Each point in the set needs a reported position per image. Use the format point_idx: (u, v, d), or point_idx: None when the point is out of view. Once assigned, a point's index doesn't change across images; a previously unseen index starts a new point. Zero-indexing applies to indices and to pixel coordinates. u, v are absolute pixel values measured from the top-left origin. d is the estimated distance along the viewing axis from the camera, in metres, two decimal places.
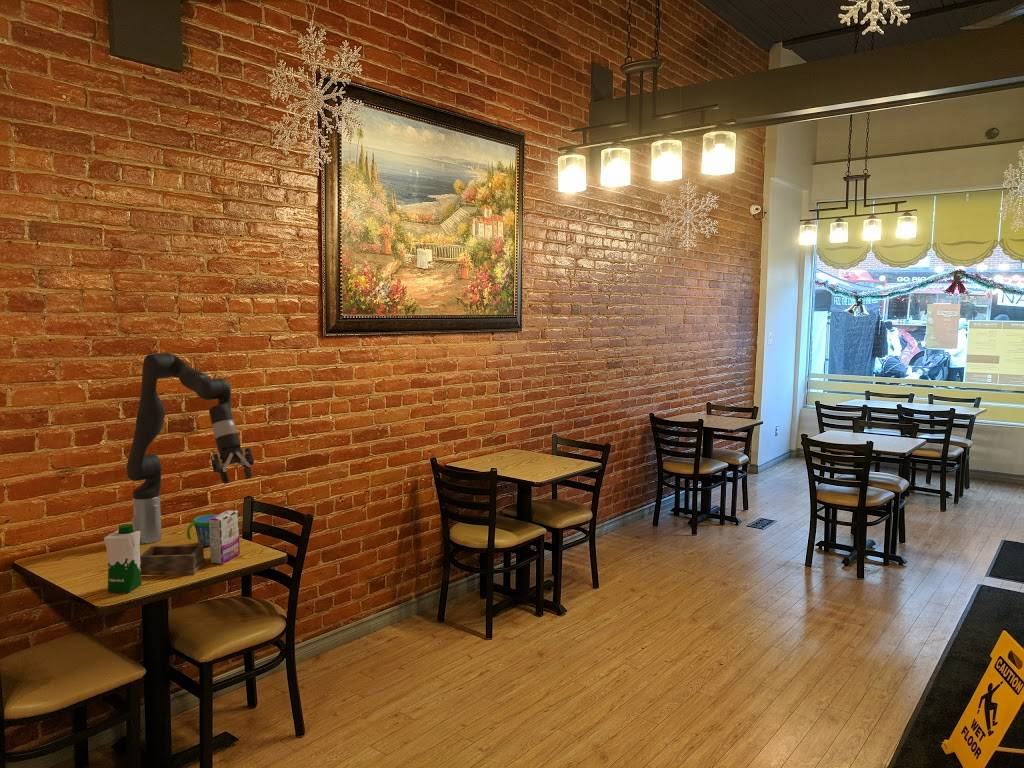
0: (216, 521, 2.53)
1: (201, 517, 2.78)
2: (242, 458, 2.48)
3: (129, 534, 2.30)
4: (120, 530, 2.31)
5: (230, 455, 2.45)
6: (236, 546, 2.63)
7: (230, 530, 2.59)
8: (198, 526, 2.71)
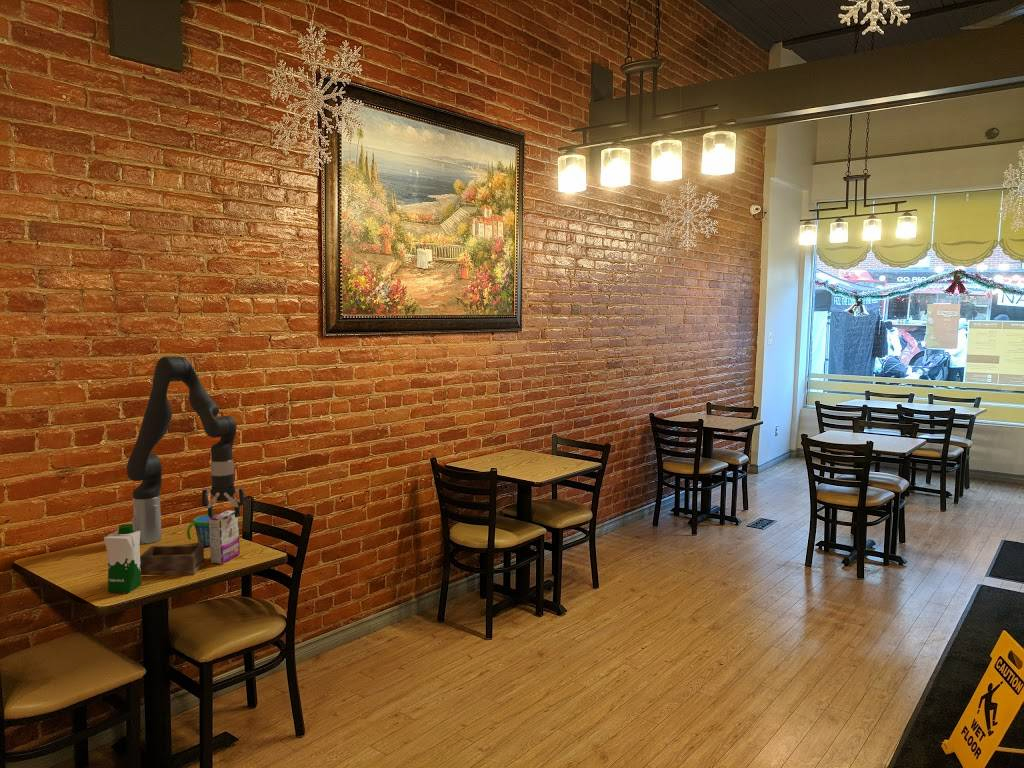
0: (216, 521, 2.53)
1: (201, 517, 2.78)
2: (230, 499, 2.57)
3: (129, 534, 2.30)
4: (120, 530, 2.31)
5: (217, 494, 2.56)
6: (236, 546, 2.63)
7: (230, 530, 2.59)
8: (198, 526, 2.71)
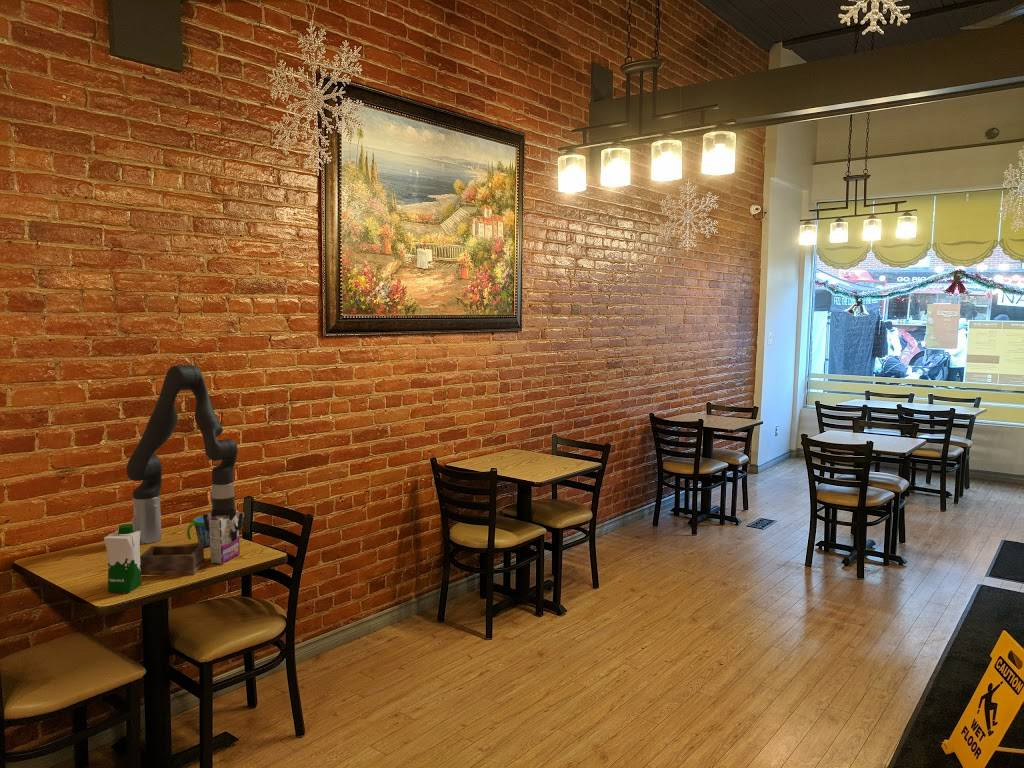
0: (216, 521, 2.53)
1: (201, 517, 2.78)
2: (229, 522, 2.58)
3: (129, 534, 2.30)
4: (120, 530, 2.31)
5: None
6: (236, 546, 2.63)
7: (230, 530, 2.59)
8: (198, 526, 2.71)
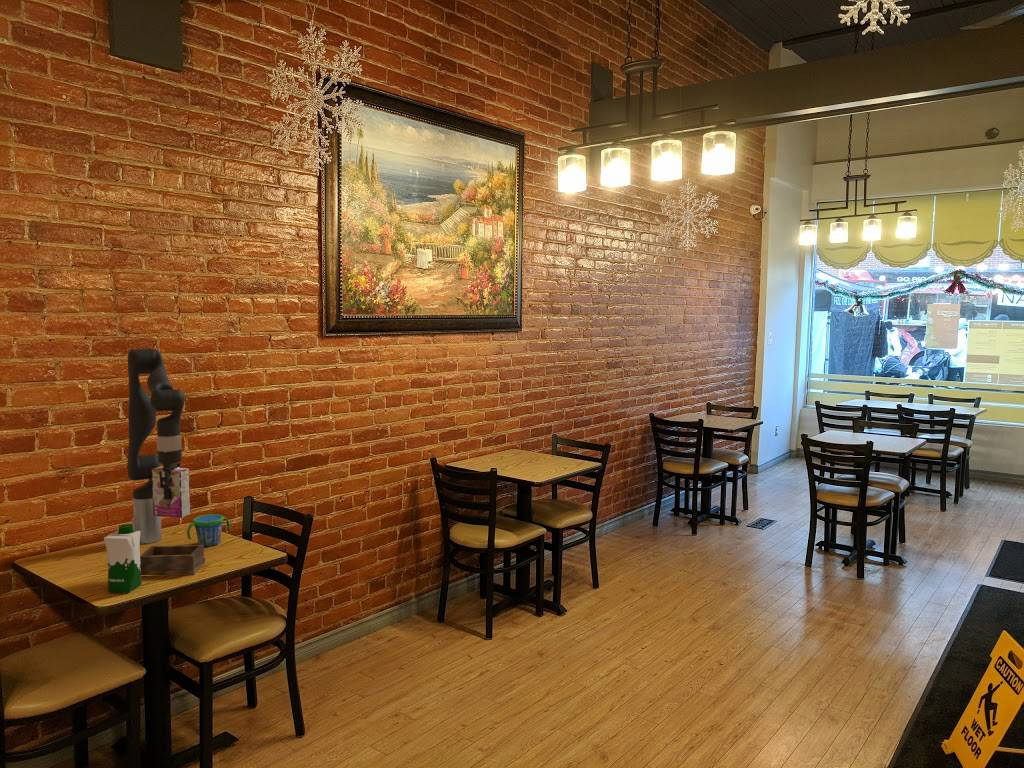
0: (186, 471, 2.46)
1: (201, 517, 2.78)
2: None
3: (129, 534, 2.30)
4: (120, 530, 2.31)
5: None
6: None
7: None
8: (198, 526, 2.71)
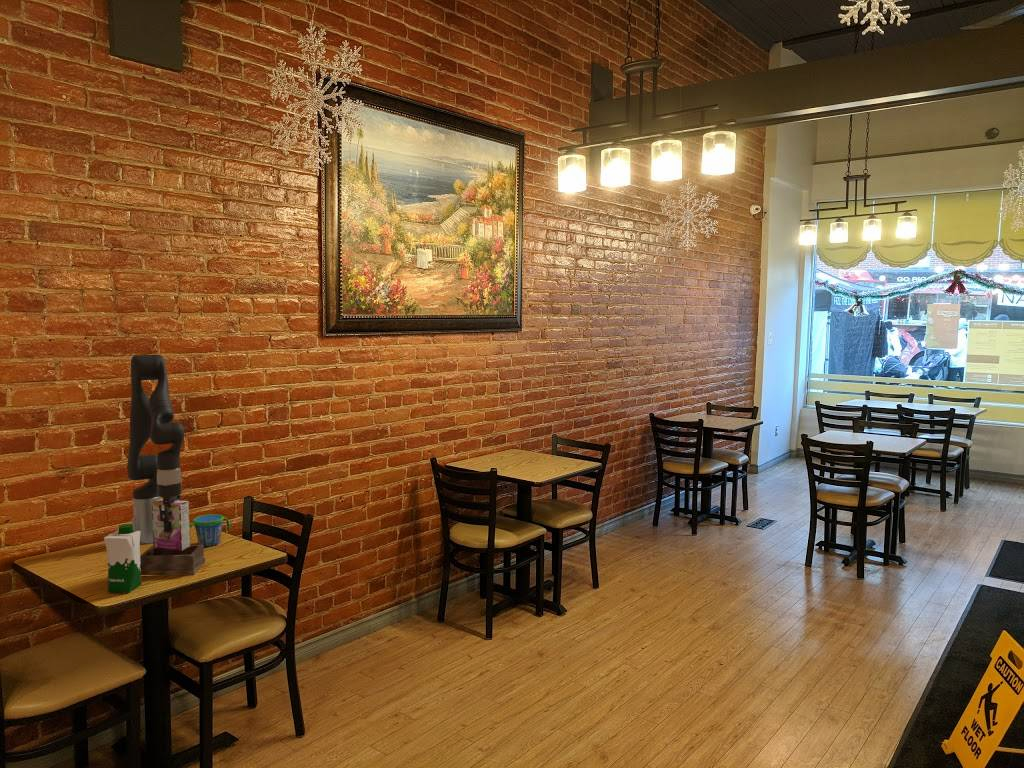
0: (186, 503, 2.47)
1: (201, 517, 2.78)
2: None
3: (129, 534, 2.30)
4: (120, 530, 2.31)
5: None
6: None
7: None
8: (198, 526, 2.71)
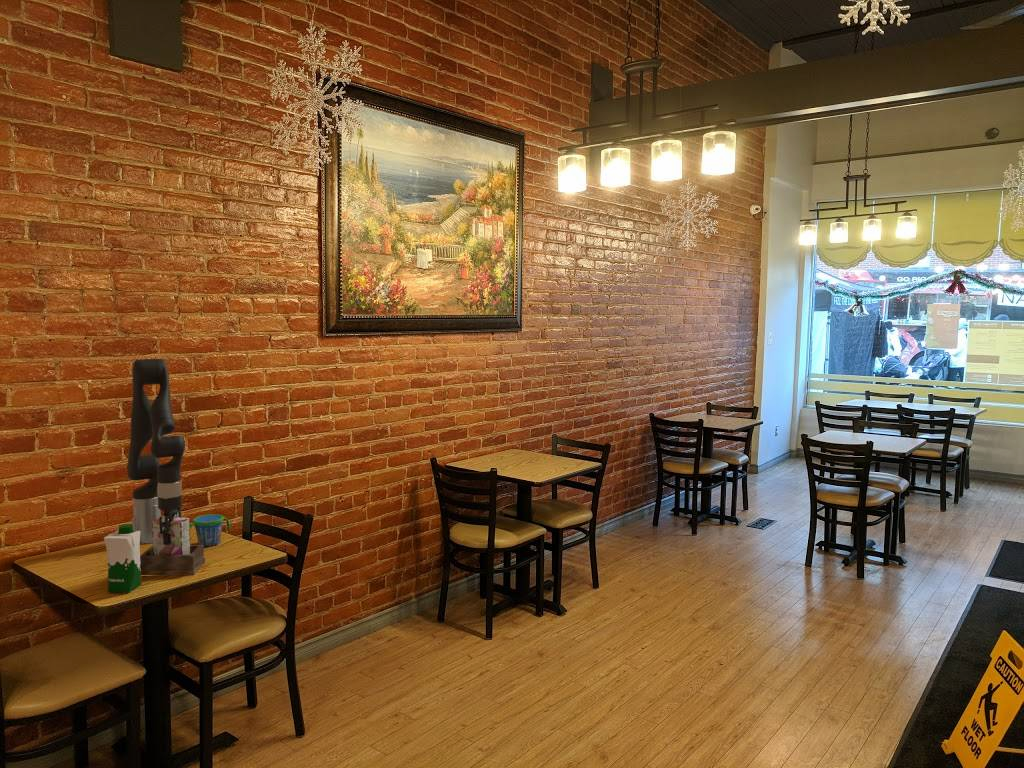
0: (186, 521, 2.48)
1: (201, 517, 2.78)
2: None
3: (129, 534, 2.30)
4: (120, 530, 2.31)
5: (174, 516, 2.47)
6: None
7: None
8: (198, 526, 2.71)
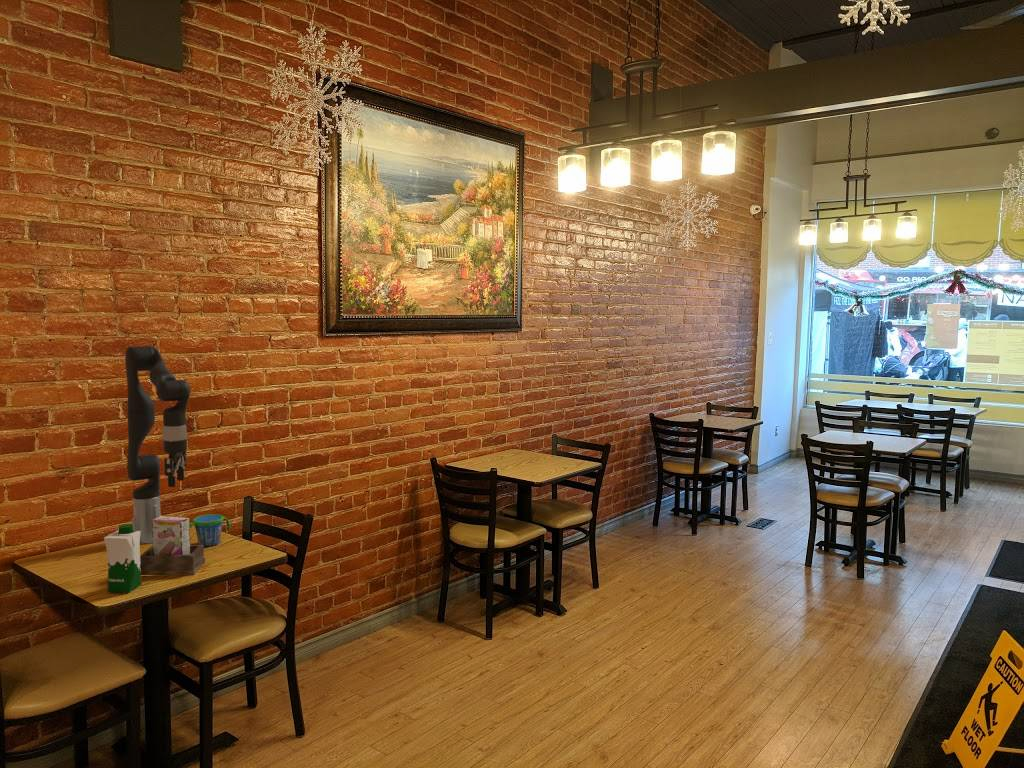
0: (186, 521, 2.48)
1: (201, 517, 2.78)
2: (183, 462, 2.55)
3: (129, 534, 2.30)
4: (120, 530, 2.31)
5: (179, 460, 2.50)
6: None
7: None
8: (198, 526, 2.71)
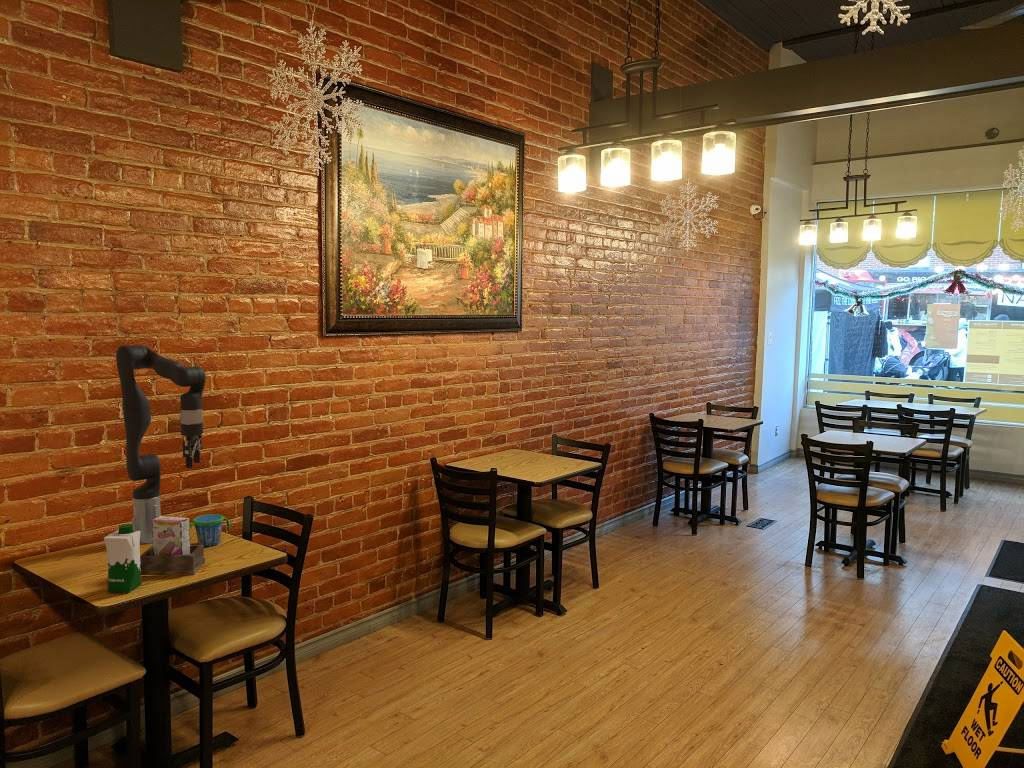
0: (186, 521, 2.48)
1: (201, 517, 2.78)
2: (199, 445, 2.68)
3: (129, 534, 2.30)
4: (120, 530, 2.31)
5: (196, 442, 2.63)
6: None
7: None
8: (198, 526, 2.71)
